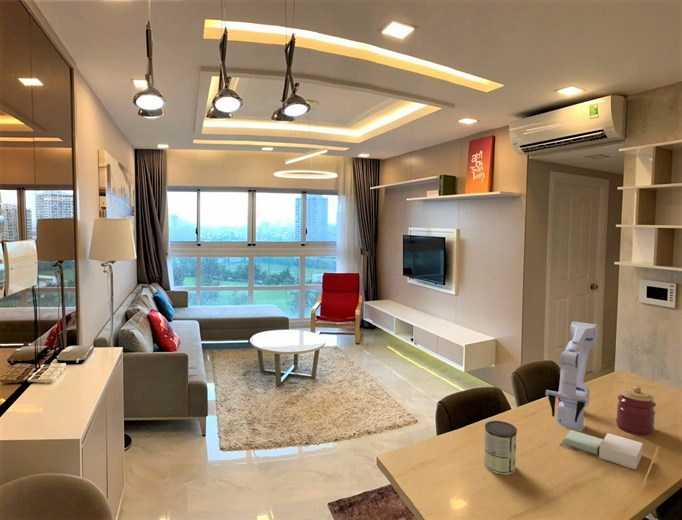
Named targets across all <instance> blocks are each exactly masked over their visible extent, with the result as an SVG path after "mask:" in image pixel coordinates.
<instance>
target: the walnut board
mask: <svg viewBox="0 0 682 520" xmlns="http://www.w3.org/2000/svg"><path fill="white" fill-rule="evenodd" d="M558 446H559V447H561V448H564V449H567V450H571V451H574V452H577V453H580V454H583V455H586V456H588V457H592V458H595V459H598V460H600V461H604V462H607V463H610V464H613V465H616V466H620V467H621V468H624V469H625V468H626V469H629V470H632V471H634V472H635V471H636V470H635V469H632V468H629V467H626V466H623V465H620V464H617V463H614V462H611V461H607V460H604V459H601V458H599V452H598V454H594V453H591V452H587V451H584V450H581V449H578V448H575V447H572V446H569V445H566V444H564V439H563V440H562V441H561V443H560V444H559V445H558ZM642 456H643V453H642ZM639 463H640V462H639ZM639 463H638V465H639Z"/></svg>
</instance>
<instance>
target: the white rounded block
mask: <svg viewBox="0 0 682 520" xmlns="http://www.w3.org/2000/svg"><path fill="white" fill-rule="evenodd" d="M602 439H603V441H602V443H601V444H600V448H599V458H601V459H604V460H607V461H611V462H614V463H617V464H620V465H623V466H626V467H629V468H632V469H635V471H636V470H637V467H638V466H639V464H638V463H640V461H641V458H642V456H643V455H642V454H643V449H644V448H643V447H644V446H643V445H644V443H643V442H640V441H637V440H634V439H630V438H626V437H623V436H620V435H616V434H613V433H609V432H607V434H606V435H605V437H604V438H602ZM601 459H600V460H601ZM604 460H603V461H604ZM607 461H606V462H607Z"/></svg>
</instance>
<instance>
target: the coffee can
mask: <svg viewBox="0 0 682 520" xmlns="http://www.w3.org/2000/svg"><path fill="white" fill-rule="evenodd" d="M484 429H485V430H484V457H483V458H484V459H483V460H484V462H483V465H484V467H485V468H486V470H488V471H489V472H490V473H493V474H497V475H502V476H507V475H512V474H513V473H515V471H516V459H517V457H516V456H517V452H516V451H517V433H518V428H517V427H516V426H515V425H513V424H512V423H509V422H505V421H502V420H491V421H488V422H486V423H485V424H484Z"/></svg>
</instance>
